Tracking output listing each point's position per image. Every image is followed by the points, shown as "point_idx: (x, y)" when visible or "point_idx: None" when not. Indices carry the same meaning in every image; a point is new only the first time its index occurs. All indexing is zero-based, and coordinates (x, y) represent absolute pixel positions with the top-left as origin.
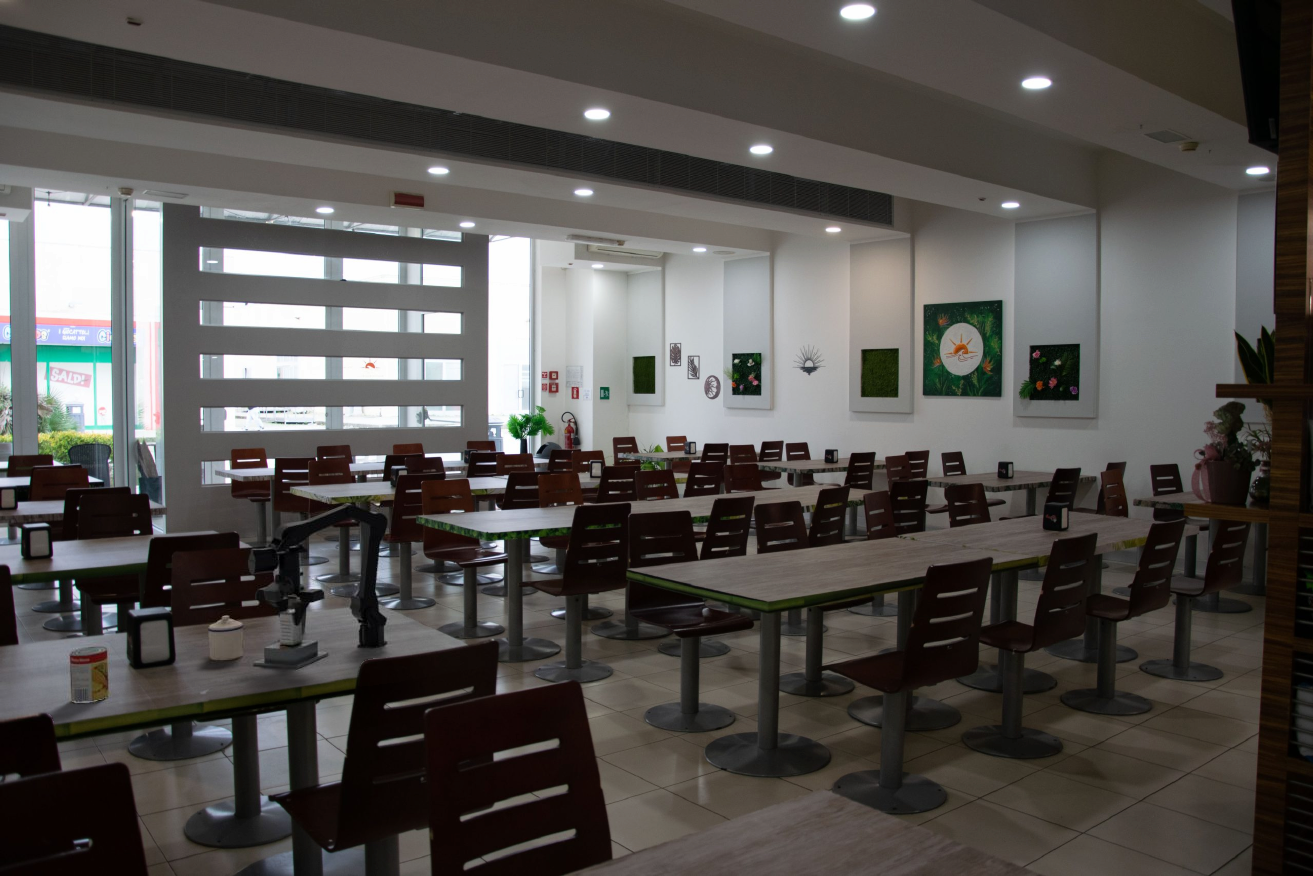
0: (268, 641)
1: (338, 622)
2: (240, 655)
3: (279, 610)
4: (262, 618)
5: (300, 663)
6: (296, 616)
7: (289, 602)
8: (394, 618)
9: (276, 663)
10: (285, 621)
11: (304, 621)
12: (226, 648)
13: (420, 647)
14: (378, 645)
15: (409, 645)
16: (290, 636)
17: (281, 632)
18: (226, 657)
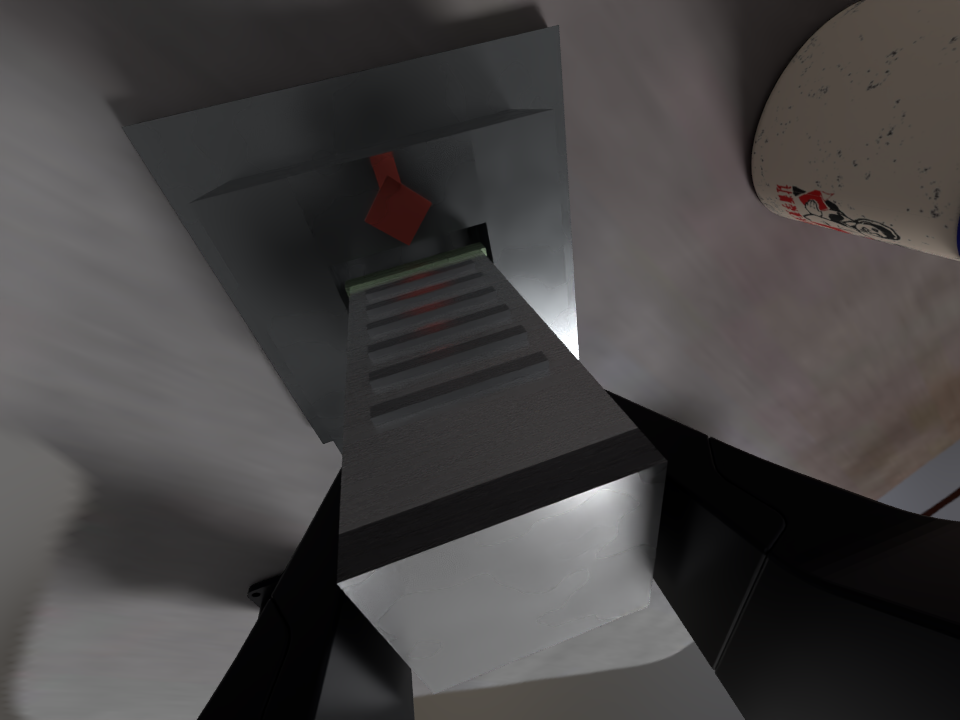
0: (749, 399)
1: (652, 593)
2: (755, 156)
3: (718, 498)
4: None
5: (185, 198)
6: (317, 552)
7: None
8: (536, 674)
9: (358, 94)
10: (460, 382)
11: None
12: (886, 34)
13: (102, 679)
14: (256, 603)
15: (180, 661)
16: (368, 306)
17: (494, 290)
18: (816, 41)
